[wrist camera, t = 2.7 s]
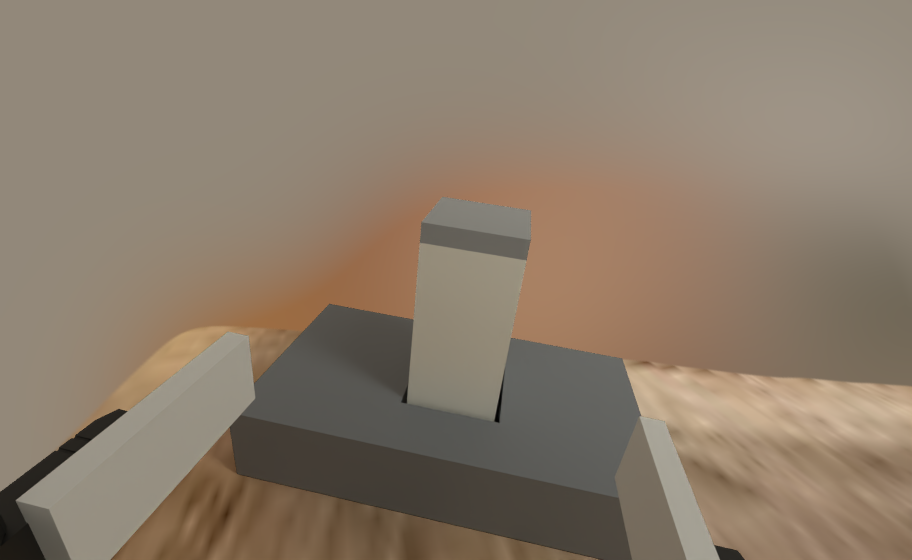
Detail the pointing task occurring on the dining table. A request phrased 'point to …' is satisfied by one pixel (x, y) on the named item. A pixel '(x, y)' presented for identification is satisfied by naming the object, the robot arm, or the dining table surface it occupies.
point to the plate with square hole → (446, 435)
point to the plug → (466, 305)
